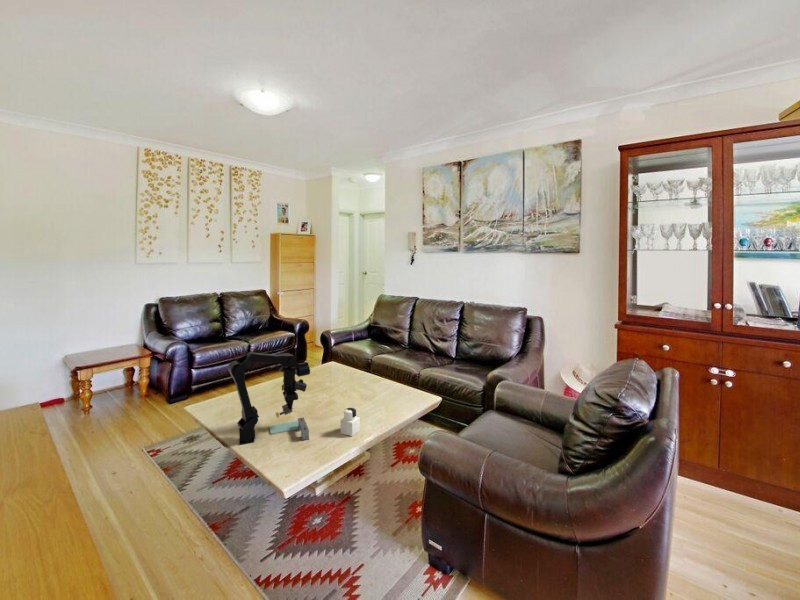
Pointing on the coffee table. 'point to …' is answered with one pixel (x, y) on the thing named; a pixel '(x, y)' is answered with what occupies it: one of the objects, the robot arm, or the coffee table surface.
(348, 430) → the medicine bottle
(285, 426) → the mat
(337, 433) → the coffee table surface
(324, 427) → the coffee table surface
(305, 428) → the housing
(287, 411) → the plug
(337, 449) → the coffee table surface
